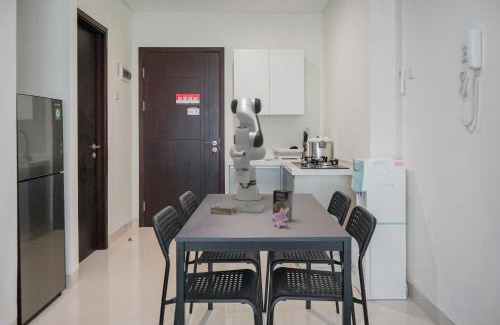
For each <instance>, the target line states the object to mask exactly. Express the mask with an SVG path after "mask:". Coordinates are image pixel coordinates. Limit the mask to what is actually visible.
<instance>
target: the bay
mask: <svg viewBox="0 0 500 325" xmlns="http://www.w3.org/2000/svg"><path fill="white" fill-rule="evenodd" d="M235 213H237V205H233V206H231V207H229V208H228V207H220V204H216V205H213V206H211V207H210V214H212V215H226V214H228V216H231V215H233V214H235Z"/></svg>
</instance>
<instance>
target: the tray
mask: <svg viewBox="0 0 500 325" xmlns="http://www.w3.org/2000/svg"><path fill="white" fill-rule="evenodd" d="M265 210H266V205H265V204H263V205H262V204H244V205H242V206H240V213H250V214H251V213H252V214H261V213H263V212H265Z"/></svg>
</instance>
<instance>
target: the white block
mask: <svg viewBox="0 0 500 325" xmlns="http://www.w3.org/2000/svg"><path fill="white" fill-rule="evenodd" d="M242 170H247V171H242V176H239V173H238V169H235V171H234V183H235V184H239V183H249V182H250V171H248V169H242Z"/></svg>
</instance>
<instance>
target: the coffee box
mask: <svg viewBox="0 0 500 325" xmlns="http://www.w3.org/2000/svg"><path fill="white" fill-rule="evenodd" d="M272 194H273V195H272V215H273V214H275V213H279V212H280V210H281V208H283V210H285V209H286V208H289V210H288V211H287V213H286V215H285V216H286V217H287V218H288V220H286V222H285V223H287V222H290V221H292V220H293V190H287V189H283V190H282V189H275V190H273V192H272ZM272 220H273V221H275V219H274V218H273V217H272Z"/></svg>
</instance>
